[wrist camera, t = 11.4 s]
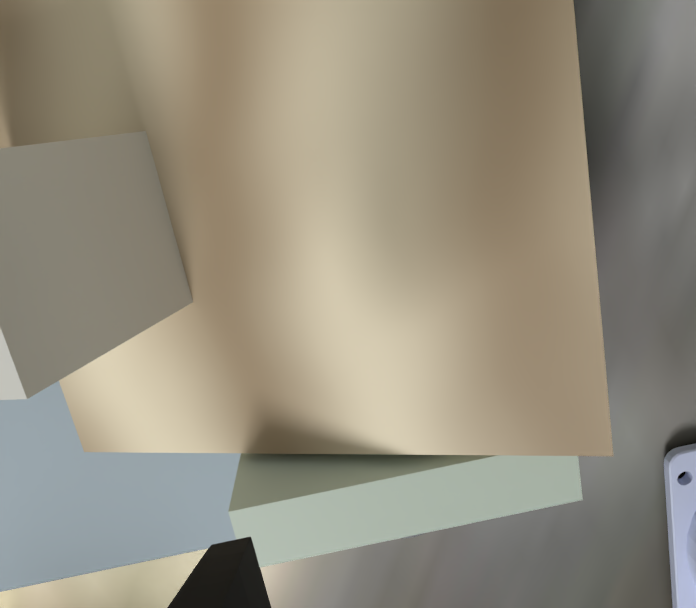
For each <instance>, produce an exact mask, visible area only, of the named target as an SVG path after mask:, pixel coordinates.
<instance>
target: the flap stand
mask: <svg viewBox="0 0 696 608" xmlns="http://www.w3.org/2000/svg"><path fill="white" fill-rule="evenodd" d="M580 500H583V499H582V490H581V480H580V471H579V462H578V456H518V455H388V454H258V453H241V455H240V460H239V464H238V469H237V474H236V478H235V483H234V487H233V492H232V497H231V501H230V506H229V511H228V513H229V516H230V520H231V523H232V527H233V530H234V533H235V537H236V539H241V538H246V537H251V539H252V542H253V546H254V549H255V553H256V556H257V560H258V563H259V567H265V566H269V565H274V564H279V563H284V562H288V561H293V560H298V559H303V558H308V557H312V556H317V555H322V554H327V553H331V552H336V551H341V550H346V549H351V548H355V547H360V546H365V545H370V544H374V543H379V542H384V541H389V540H393V539H398V538H410V537H415V536H419V535H422V534H424V533H427V532H432V531H436V530H441V529H446V528H451V527H456V526H460V525H465V524H470V523H475V522H479V521H484V520H489V519H494V518H498V517H503V516H508V515H513V514H518V513H522V512H527V511H532V510H537V509H541V508H546V507H551V506H556V505H560V504H565V503H570V502H575V501H580Z"/></svg>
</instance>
